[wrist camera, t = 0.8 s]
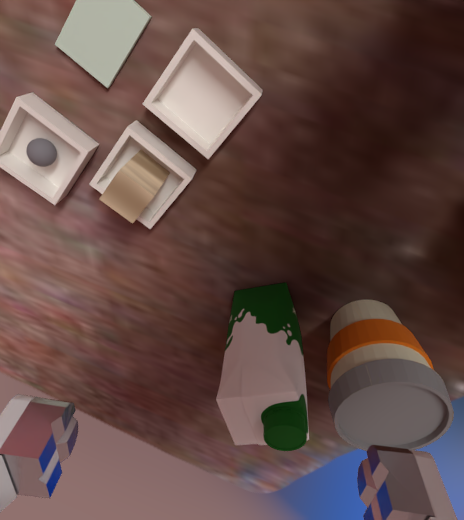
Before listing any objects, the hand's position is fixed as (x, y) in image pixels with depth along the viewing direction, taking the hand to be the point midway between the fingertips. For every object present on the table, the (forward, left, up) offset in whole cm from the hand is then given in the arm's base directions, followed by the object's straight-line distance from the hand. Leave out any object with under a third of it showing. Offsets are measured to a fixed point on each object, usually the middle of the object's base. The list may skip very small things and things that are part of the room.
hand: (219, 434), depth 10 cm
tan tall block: (+12, -6, -35) cm, 37 cm away
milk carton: (+17, +17, -35) cm, 43 cm away
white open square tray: (+1, -6, -35) cm, 36 cm away
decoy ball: (+17, -16, -33) cm, 41 cm away
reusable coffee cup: (+10, +29, -35) cm, 46 cm away
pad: (+3, -17, -35) cm, 39 cm away
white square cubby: (+12, -6, -35) cm, 38 cm away
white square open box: (+17, -16, -35) cm, 42 cm away
